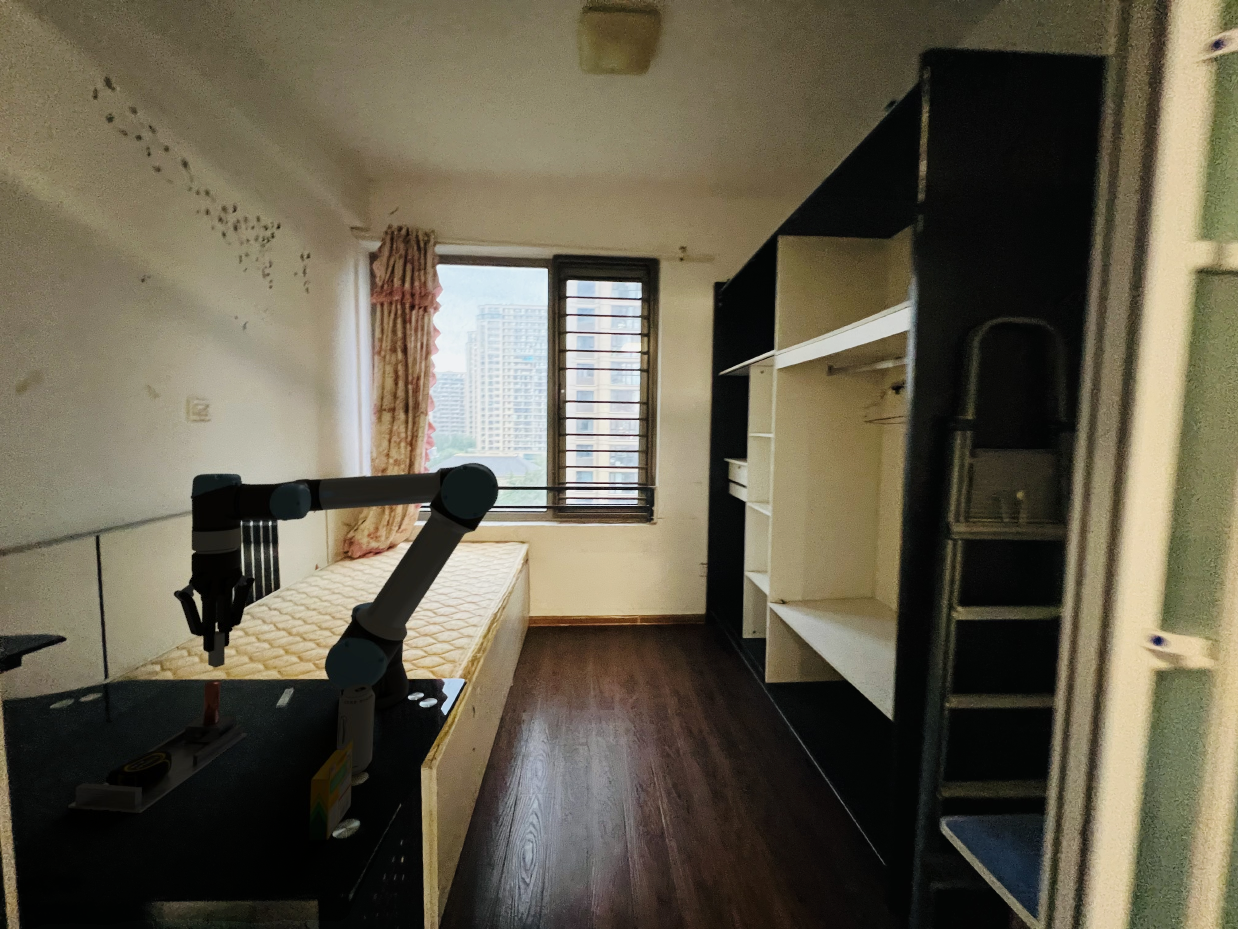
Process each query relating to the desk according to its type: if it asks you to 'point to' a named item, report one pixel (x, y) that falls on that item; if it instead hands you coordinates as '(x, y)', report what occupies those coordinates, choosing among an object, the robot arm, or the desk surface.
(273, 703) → the desk surface
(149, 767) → the tape measure
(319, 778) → the crayon box
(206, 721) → the ram
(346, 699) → the energy drink can
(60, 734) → the desk surface
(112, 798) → the press bed
